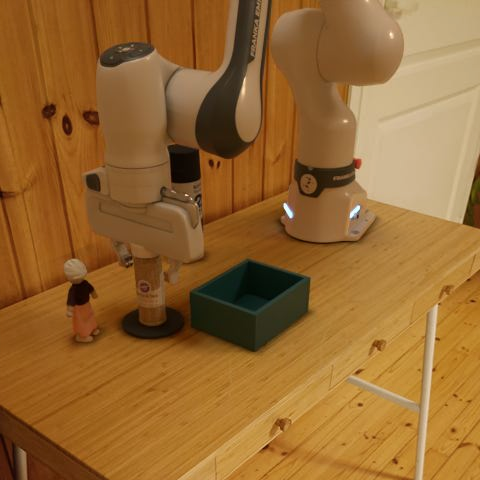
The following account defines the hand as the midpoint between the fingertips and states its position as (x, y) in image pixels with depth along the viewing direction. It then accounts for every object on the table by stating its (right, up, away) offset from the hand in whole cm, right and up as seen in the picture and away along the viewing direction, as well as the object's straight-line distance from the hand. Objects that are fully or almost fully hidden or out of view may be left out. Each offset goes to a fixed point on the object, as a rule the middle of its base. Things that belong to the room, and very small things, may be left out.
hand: (148, 274), depth 93 cm
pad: (0, -7, +5) cm, 9 cm away
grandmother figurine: (-10, -10, +2) cm, 14 cm away
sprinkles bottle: (0, -6, +5) cm, 8 cm away
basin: (+16, -6, +7) cm, 18 cm away
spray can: (+4, +10, +26) cm, 28 cm away
